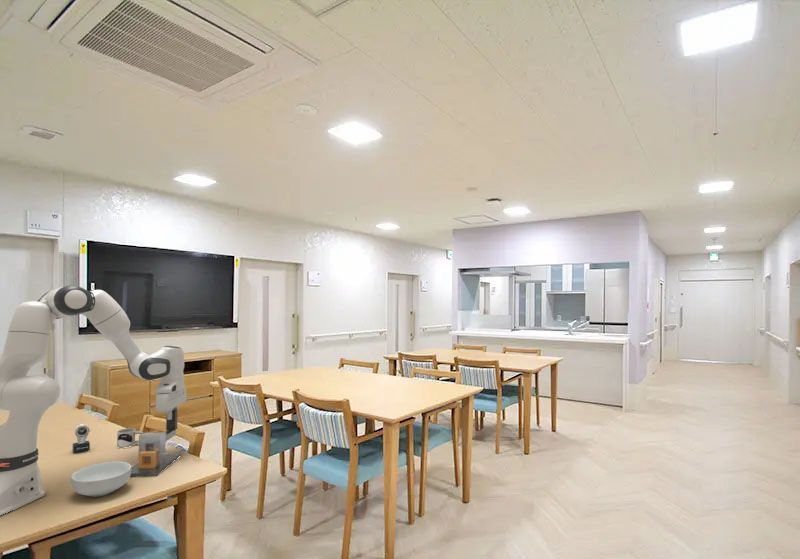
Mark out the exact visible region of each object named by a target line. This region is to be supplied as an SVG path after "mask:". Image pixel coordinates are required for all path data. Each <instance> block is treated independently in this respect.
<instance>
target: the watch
mask: <svg viewBox="0 0 800 559" xmlns="http://www.w3.org/2000/svg"><path fill="white" fill-rule="evenodd" d="M90 432H91V429H90V428H89V426H88V425H87V424H86V423H80V424H77V426H76V428H75V431H74V433H75V436H76V440H77V442H74V443H72V453H73V454H79V453H84V451H85V452H89V451H88V450H90V449H91V447H90V446H91V442H90V441H89V440H87V438H88V436H89V434H90Z"/></svg>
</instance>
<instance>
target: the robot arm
mask: <svg viewBox="0 0 800 559" xmlns="http://www.w3.org/2000/svg"><path fill="white" fill-rule="evenodd" d="M79 315H83V316H84V317H85V318H87V319H88V320H89V322H90V323H91V324H92V325H93V327H94V328H95V329H96V330H97V331H98V332H99V333H100V334H101V336H104V337H105V338H107V339H108V340H109V341H110V342H111V343H112V344H114V345H115V347H116V348H117V350H118V351H119V352H120V353H121V354H122V355H123V357H124V358H125V360H126V362H127V366H128V367H127V368H128V371H129V372H130V373H129V374H131V375H132V376H133V377H136V378H139V379H143V380H145V381H153V380H157V379H160V381H159V383H158V384H157V386H155V388H154V393H155V394H156V395H155V411H156V412H157V413H158V414H159V413H161V414H165V415H166V414H167V419H168V420H171V419H173V414H172V410H179V406H180V405H182V404H184V403H185V402H186V401H187V386H186V385H185V374H184V370H185V354H184V350H183V348H182V347H179V346H174V345H164V346H163V347H162V348H160V349H158V350H156V351H155V352H153V353H152V354H149V353H147V352H145V351H143V350H142V349H141V347H139V345H138V344H137V343H136V341H135V340H134V339H133V337H132V335H131V334H130V328H131V320H130V319H129V316H128V315H127V313H126V311H125V310H124V309H123V307H122V306H121V305H120V304H119V303H118V302H117V301H116V300H115V299H114V298H113V297H112V296H111V295H110V294H108V292H106V291H104V290H102V289H93V290H87V289H85V288H84V287H81V286H78V285H71V284H70V285H65V286H60V287H56V288H53V289H51V290H49V291H47V292H45V293H44V294H43V295H42V296H41V297H40V298H39V299H38V300H29V301H24V302H22V303H20V304H19V305H18V306H17V307H16V309H15V310H14V313H13V316H12V319H11V321H10V323H9V328H8V330H7V335H6V339H5V343H4V347H3V351H2V353H1V356H0V411H9V415H8V418H7V420H6V422H5V423H2V424H1V425H0V515H2V516H4V515H6V514H8V512H9V513H11V512H12V510H13V511H15V510H17V509H19V508H22V507H23V506H25V505H27V504H30V503H32V502H33V501H36V500H39V499H40V498H43V497H45V496H46V495H45V491H44V490H43V488H42V486H43V485H42V476H41V470H40V468H39V465H38V461H39V454H40V453H39V448H37V447H38V446H37V445H38V444H37V443H38V431H39V426H40V421H41V419H42V417H43V416H44V414H45V412H46V411H47V410H48V409H50V408H51V407H52V406H54V404H55V403H56V402H57V401H58V399H59V397H60V395H61V386H60V384H59V382H58V381H57V380H56V379H55V378H51V377H47V376H42V375H28V373H29V371H30V370H31V368H33V366H35V365H36V364H38V363H40V362H41V361H43V360H44V359H45V356H46V355H47V354H46V353H47V350H48V349H47V348H48V345H49V340H50V335H51V329H52V328H51V327H52V325H53V323H54V321H55V320H59V319H67V318H72V317H74V316H79ZM10 511H11V512H10ZM5 513H6V514H5ZM3 514H4V515H3Z"/></svg>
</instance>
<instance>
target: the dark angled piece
mask: <svg viewBox="0 0 800 559" xmlns="http://www.w3.org/2000/svg"><path fill="white" fill-rule="evenodd" d="M178 410H179V409H178ZM178 410H172V414H173V419H171V420H168V419H167V414H166V413H165V415H166V419H165V421H166V423H165V427H166V428H165V430H166V431H165V432H166V440H165V443H166V442H168V441H169V440H170V439H172V438H173V437H174V436H176V434H177V430H178V412H179V411H178ZM150 448H154V443H150Z"/></svg>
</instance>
